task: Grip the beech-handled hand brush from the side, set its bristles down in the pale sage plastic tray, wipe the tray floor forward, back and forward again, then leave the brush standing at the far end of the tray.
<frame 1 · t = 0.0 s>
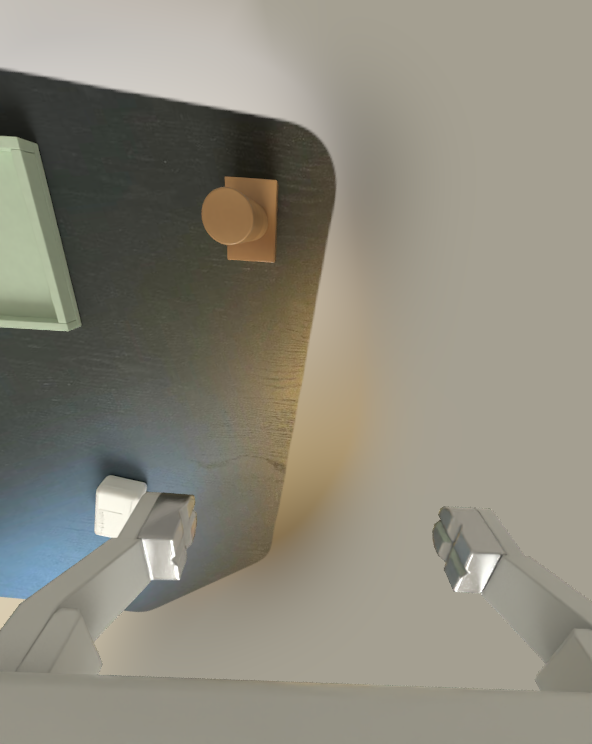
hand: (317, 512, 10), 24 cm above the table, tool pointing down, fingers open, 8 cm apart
soap: (126, 498, 43), on the table
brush: (256, 222, 28), on the table
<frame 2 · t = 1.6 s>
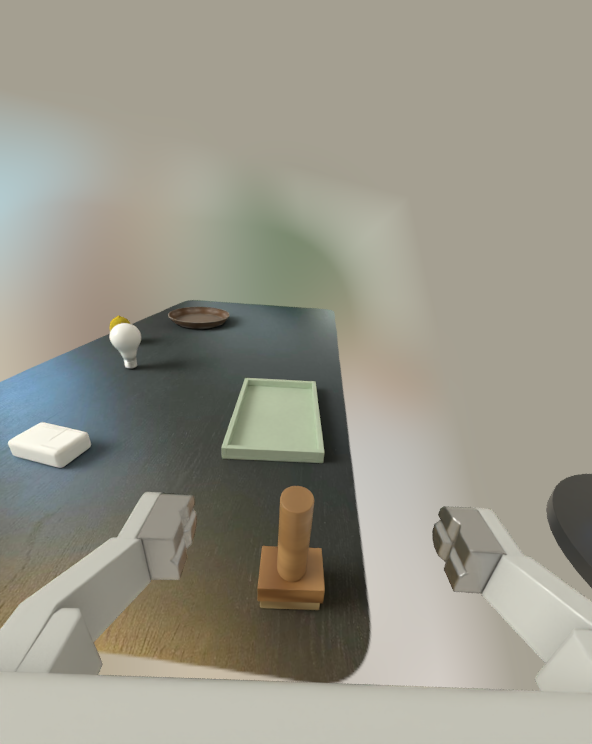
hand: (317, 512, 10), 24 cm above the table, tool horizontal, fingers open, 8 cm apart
tray: (277, 417, 57), on the table
soap: (54, 452, 46), on the table
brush: (289, 588, 30), on the table
lemon: (124, 343, 87), on the table
plant saucer: (200, 323, 109), on the table
lightbulb: (131, 368, 73), on the table
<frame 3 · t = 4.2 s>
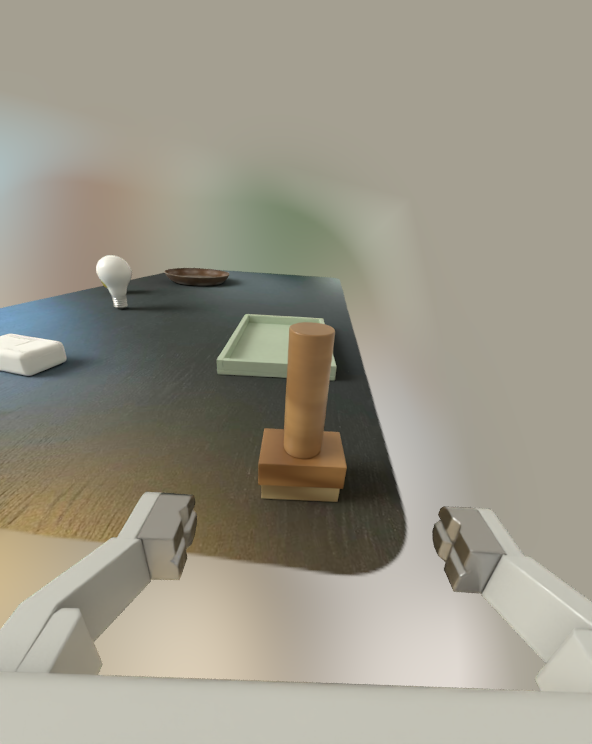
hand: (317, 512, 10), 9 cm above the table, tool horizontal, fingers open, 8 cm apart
tray: (280, 346, 51), on the table
soap: (23, 365, 39), on the table
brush: (299, 481, 24), on the table
plant saucer: (198, 282, 103), on the table
lightbulb: (121, 309, 67), on the table
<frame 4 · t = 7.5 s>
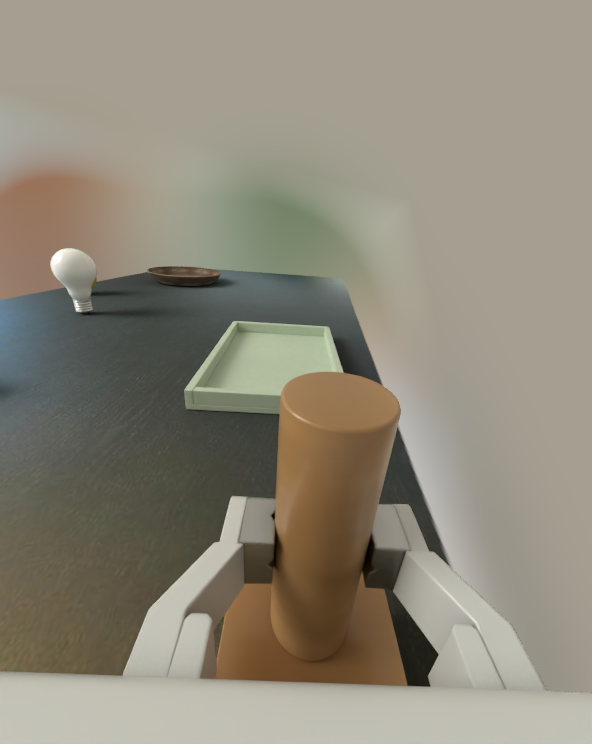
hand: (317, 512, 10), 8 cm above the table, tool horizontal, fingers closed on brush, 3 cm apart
tray: (276, 364, 40), on the table
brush: (302, 661, 12), on the table, touching gripper
plant saucer: (186, 282, 92), on the table
lightbulb: (85, 314, 55), on the table
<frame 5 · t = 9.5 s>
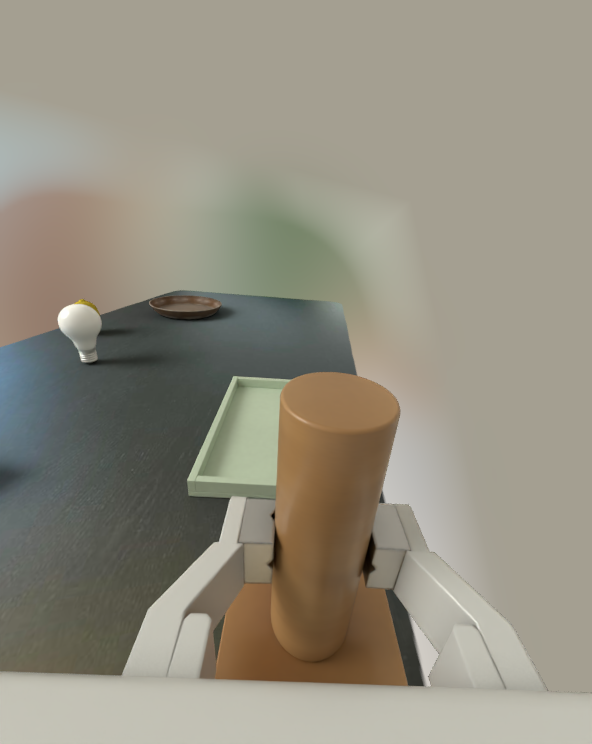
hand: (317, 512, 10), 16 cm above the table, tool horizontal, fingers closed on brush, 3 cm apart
tray: (274, 430, 41), on the table
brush: (302, 661, 12), point 9 cm above the table, touching gripper
lemon: (89, 334, 71), on the table
plant saucer: (187, 313, 93), on the table
lightbulb: (90, 363, 57), on the table
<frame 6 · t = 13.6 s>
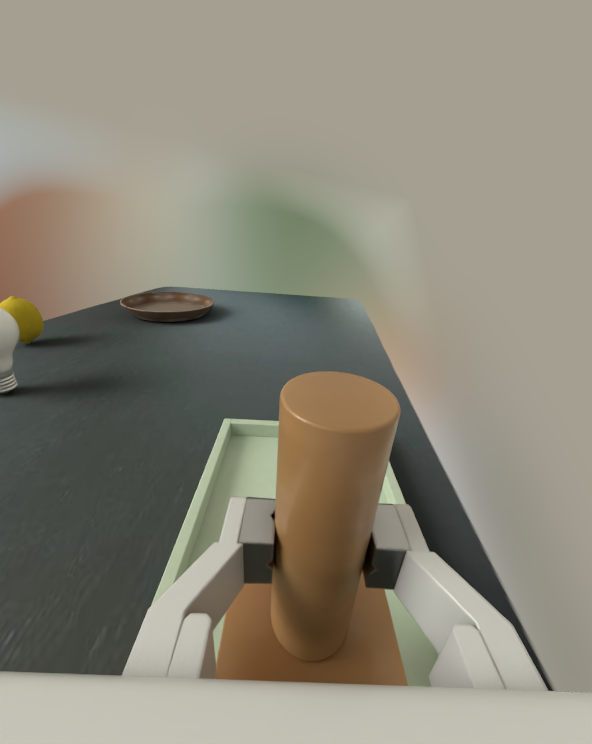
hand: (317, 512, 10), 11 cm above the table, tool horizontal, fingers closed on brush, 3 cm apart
tray: (299, 542, 21), on the table
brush: (302, 661, 12), point 4 cm above the table, touching gripper
lemon: (28, 344, 51), on the table
plant saucer: (171, 314, 73), on the table
lightbulb: (6, 393, 37), on the table
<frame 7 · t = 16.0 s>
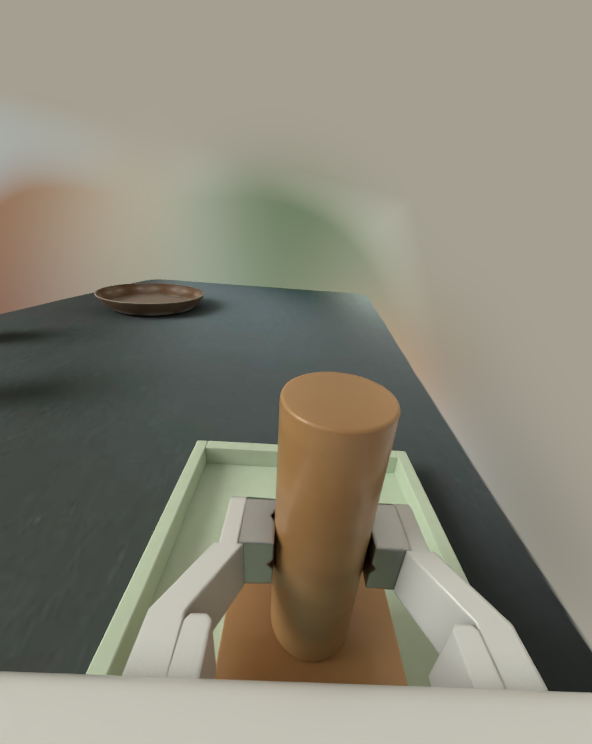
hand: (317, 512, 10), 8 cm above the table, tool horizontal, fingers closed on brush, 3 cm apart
tray: (301, 664, 13), on the table
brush: (302, 661, 12), point 1 cm above the table, touching gripper
plant saucer: (154, 307, 65), on the table
when the fingers open (8 cm above the table, at t = 24.5 s): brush stays where it is, resting on tray.
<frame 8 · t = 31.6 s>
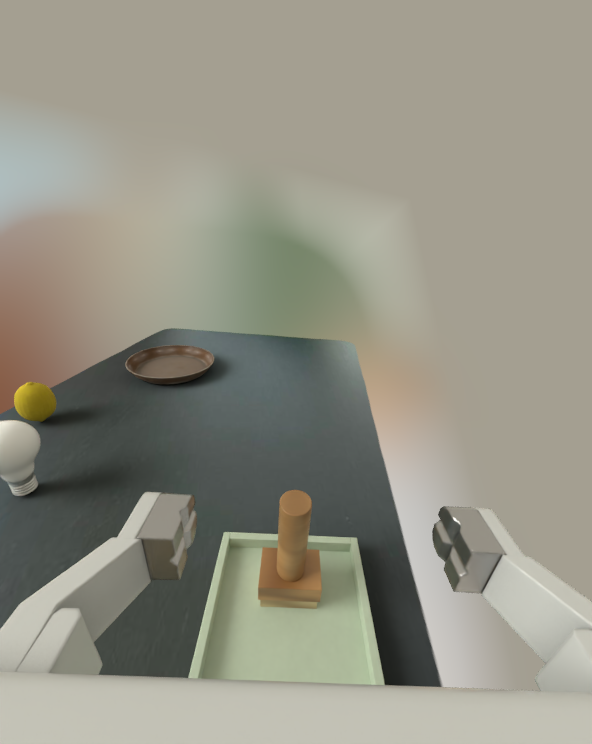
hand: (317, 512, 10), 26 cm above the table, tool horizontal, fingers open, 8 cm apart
tray: (286, 678, 26), on the table
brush: (288, 588, 32), point 1 cm above the table, touching tray
lemon: (42, 421, 56), on the table
plant saucer: (173, 371, 78), on the table
lightbulb: (27, 492, 41), on the table
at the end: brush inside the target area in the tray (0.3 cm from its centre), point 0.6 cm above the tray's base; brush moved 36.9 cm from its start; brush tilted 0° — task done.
